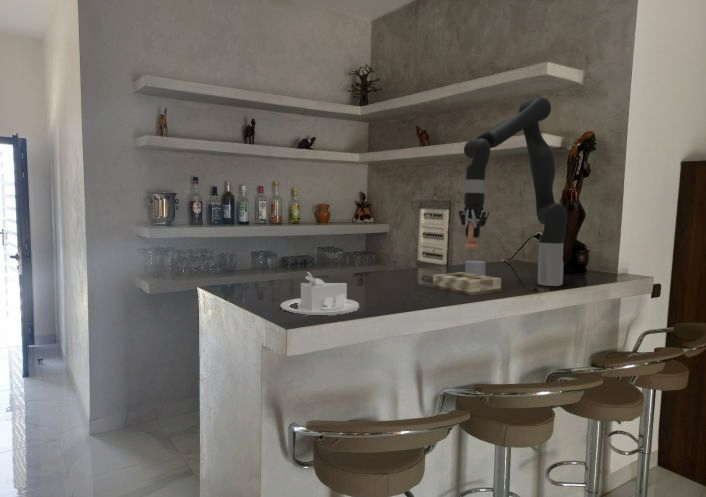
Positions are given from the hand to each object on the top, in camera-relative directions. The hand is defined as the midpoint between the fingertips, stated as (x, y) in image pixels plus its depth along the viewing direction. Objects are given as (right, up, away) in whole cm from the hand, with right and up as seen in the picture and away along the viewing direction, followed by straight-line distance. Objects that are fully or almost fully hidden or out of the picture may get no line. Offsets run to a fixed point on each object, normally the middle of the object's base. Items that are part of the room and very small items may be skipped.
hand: (472, 236), depth 197 cm
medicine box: (+6, -19, +20) cm, 28 cm away
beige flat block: (-2, -20, 0) cm, 20 cm away
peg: (0, -5, 0) cm, 5 cm away
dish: (-56, -24, -34) cm, 70 cm away
